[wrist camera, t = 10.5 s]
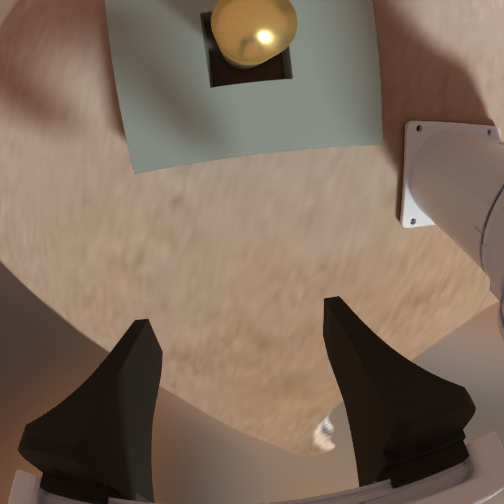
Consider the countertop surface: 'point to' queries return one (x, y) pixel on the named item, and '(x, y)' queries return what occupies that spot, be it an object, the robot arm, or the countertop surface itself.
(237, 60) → the long pin
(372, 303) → the countertop surface
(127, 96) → the hole plate
